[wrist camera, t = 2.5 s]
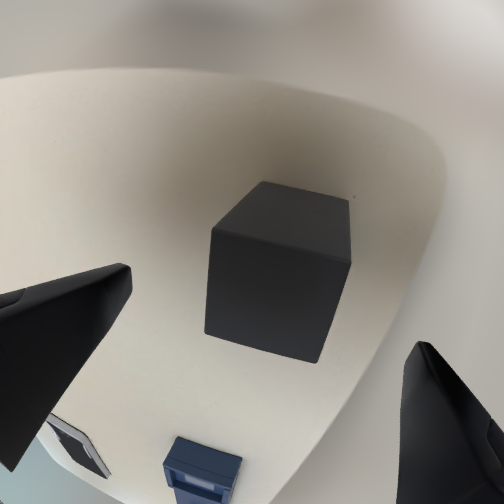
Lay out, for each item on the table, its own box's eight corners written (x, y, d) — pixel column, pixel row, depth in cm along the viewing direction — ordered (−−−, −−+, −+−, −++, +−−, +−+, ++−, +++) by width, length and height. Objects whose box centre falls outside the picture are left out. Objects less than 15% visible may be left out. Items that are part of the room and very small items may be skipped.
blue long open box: (242, 457, 25) (231, 488, 22) (227, 510, 34) (219, 529, 31) (177, 436, 26) (162, 464, 23) (184, 496, 36) (175, 514, 32)
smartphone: (74, 460, 42) (43, 416, 35) (77, 455, 43) (47, 411, 36) (108, 480, 40) (81, 441, 33) (112, 474, 41) (86, 434, 34)
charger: (349, 200, 14) (352, 261, 8) (328, 278, 15) (316, 365, 10) (259, 180, 14) (208, 227, 9) (247, 258, 16) (201, 333, 11)
